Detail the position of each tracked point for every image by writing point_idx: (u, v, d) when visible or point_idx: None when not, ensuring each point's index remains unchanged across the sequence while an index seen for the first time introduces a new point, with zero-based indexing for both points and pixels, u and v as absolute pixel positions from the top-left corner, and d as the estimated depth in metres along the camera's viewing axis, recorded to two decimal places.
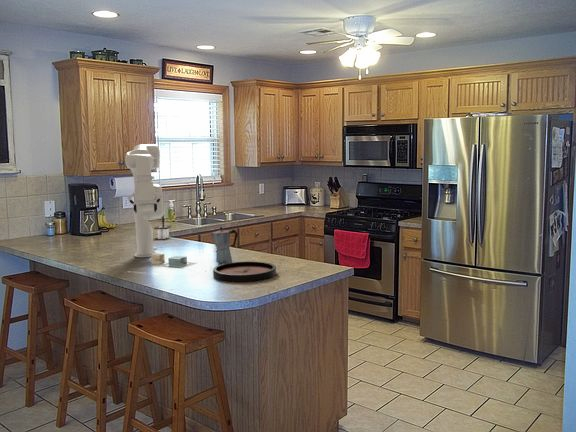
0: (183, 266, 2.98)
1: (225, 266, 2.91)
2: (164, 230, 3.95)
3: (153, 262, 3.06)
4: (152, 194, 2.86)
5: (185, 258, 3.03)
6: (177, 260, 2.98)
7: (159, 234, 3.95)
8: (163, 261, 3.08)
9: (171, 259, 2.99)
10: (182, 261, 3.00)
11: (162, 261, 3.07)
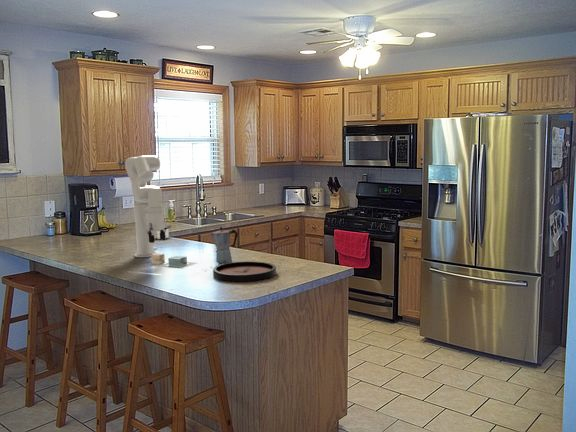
0: (183, 266, 2.98)
1: (225, 266, 2.91)
2: None
3: (153, 262, 3.06)
4: (163, 223, 3.07)
5: (185, 258, 3.03)
6: (177, 260, 2.98)
7: (159, 234, 3.95)
8: (163, 261, 3.08)
9: (171, 259, 2.99)
10: (182, 261, 3.00)
11: (162, 261, 3.07)
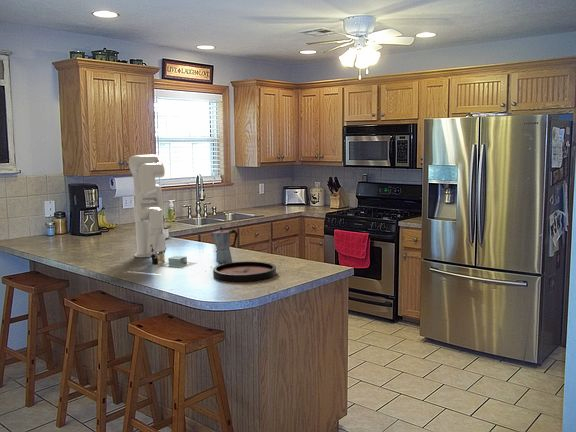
0: (183, 266, 2.98)
1: (225, 266, 2.91)
2: (164, 230, 3.94)
3: None
4: (164, 244, 3.09)
5: (185, 258, 3.03)
6: (177, 260, 2.98)
7: None
8: (163, 261, 3.08)
9: (171, 259, 2.99)
10: (182, 261, 3.00)
11: (162, 261, 3.07)
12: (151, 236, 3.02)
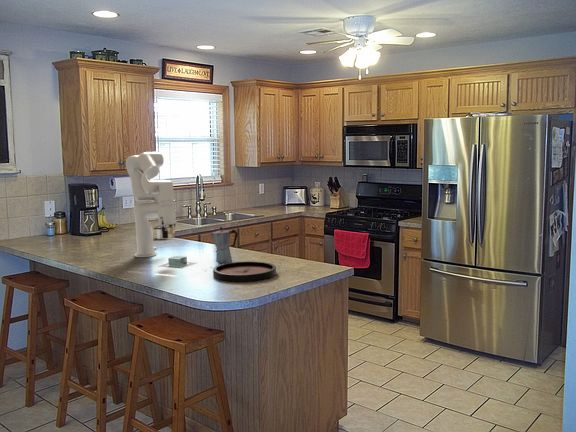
0: (183, 266, 2.98)
1: (225, 266, 2.91)
2: None
3: None
4: (175, 217, 3.04)
5: (185, 258, 3.03)
6: (177, 260, 2.98)
7: (158, 234, 3.95)
8: (173, 234, 3.02)
9: (171, 259, 2.99)
10: (182, 261, 3.00)
11: (172, 234, 3.02)
12: (161, 208, 2.97)
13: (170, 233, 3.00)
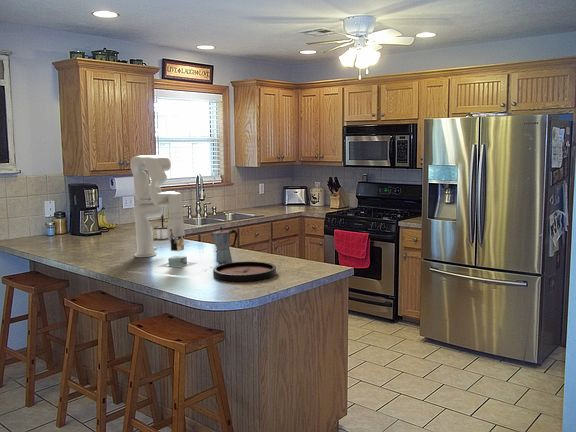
0: (183, 266, 2.98)
1: (225, 266, 2.91)
2: (163, 230, 3.94)
3: None
4: (183, 229, 3.03)
5: (185, 258, 3.03)
6: (177, 260, 2.98)
7: (158, 234, 3.95)
8: (182, 246, 3.01)
9: (171, 259, 2.99)
10: (182, 261, 3.00)
11: (181, 246, 3.01)
12: (170, 220, 2.95)
13: (179, 245, 2.99)
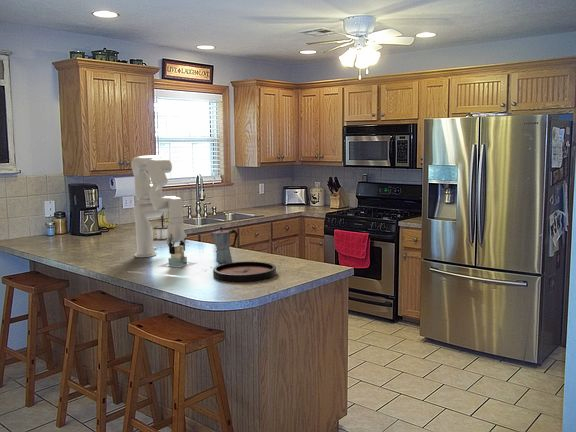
0: (183, 266, 2.98)
1: (225, 266, 2.91)
2: (163, 230, 3.94)
3: (172, 254, 3.00)
4: (184, 234, 3.03)
5: (185, 258, 3.03)
6: (177, 260, 2.98)
7: (158, 234, 3.94)
8: (182, 253, 3.02)
9: (171, 259, 2.99)
10: (182, 261, 3.00)
11: (181, 253, 3.01)
12: (170, 225, 2.96)
13: (179, 252, 2.99)
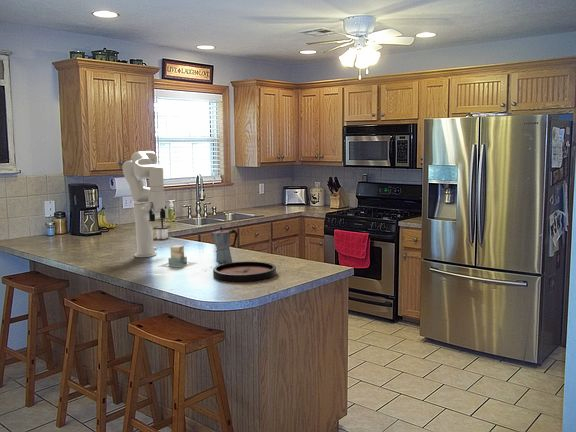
0: (183, 266, 2.98)
1: (225, 266, 2.91)
2: (163, 230, 3.94)
3: (172, 254, 3.00)
4: (164, 202, 3.09)
5: (185, 258, 3.03)
6: (177, 260, 2.98)
7: (158, 234, 3.94)
8: (182, 253, 3.02)
9: (171, 259, 2.99)
10: (182, 261, 3.00)
11: (181, 253, 3.01)
12: (151, 193, 3.01)
13: (179, 252, 2.99)
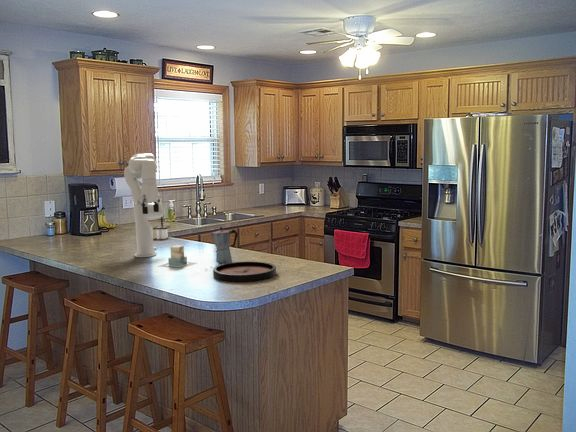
0: (183, 266, 2.98)
1: (225, 266, 2.91)
2: (163, 230, 3.94)
3: (172, 254, 3.00)
4: (157, 195, 3.11)
5: (185, 258, 3.03)
6: (177, 260, 2.98)
7: (158, 234, 3.94)
8: (182, 253, 3.02)
9: (171, 259, 2.99)
10: (182, 261, 3.00)
11: (181, 253, 3.01)
12: (144, 186, 3.04)
13: (179, 252, 2.99)
